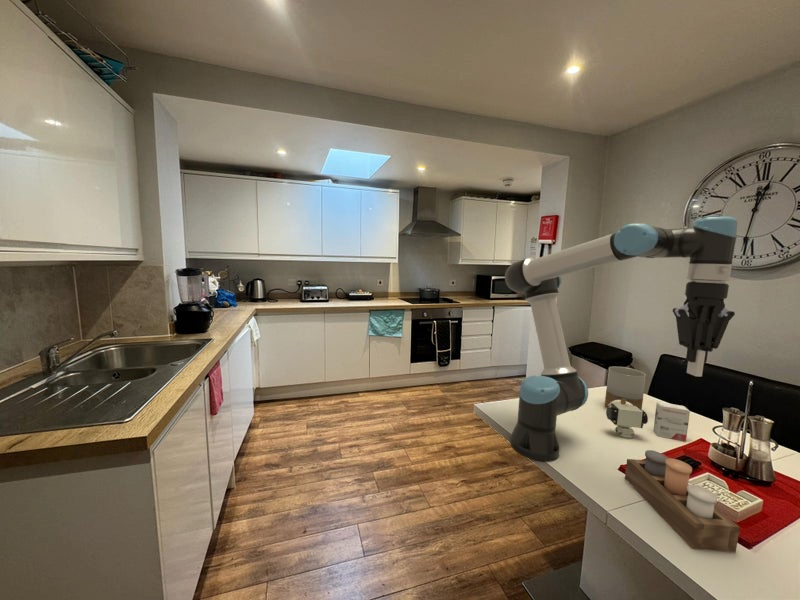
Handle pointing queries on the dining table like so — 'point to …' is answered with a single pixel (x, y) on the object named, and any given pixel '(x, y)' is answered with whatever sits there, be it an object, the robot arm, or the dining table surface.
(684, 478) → the plug terracotta
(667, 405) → the ink box
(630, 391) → the planter
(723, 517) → the socket block
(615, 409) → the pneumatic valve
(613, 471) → the dining table surface
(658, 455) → the plug charcoal
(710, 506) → the plug white
